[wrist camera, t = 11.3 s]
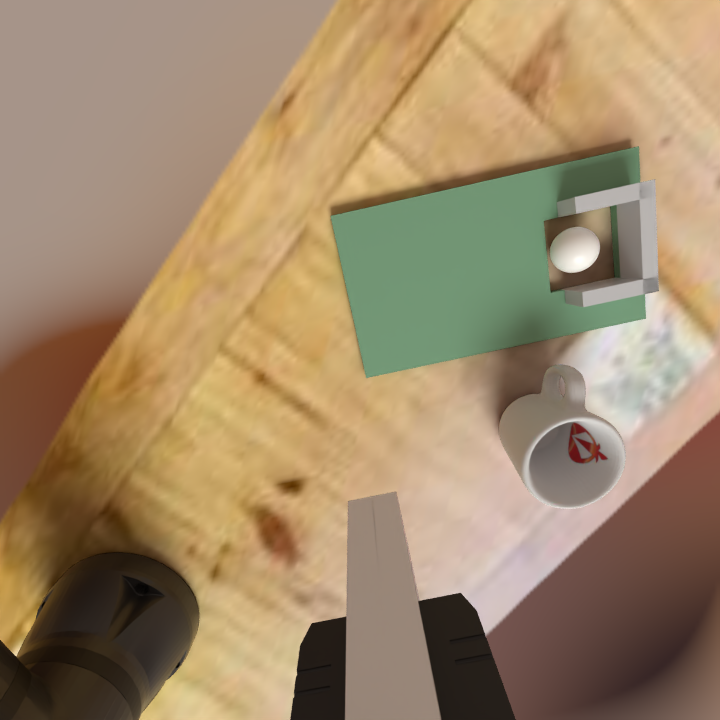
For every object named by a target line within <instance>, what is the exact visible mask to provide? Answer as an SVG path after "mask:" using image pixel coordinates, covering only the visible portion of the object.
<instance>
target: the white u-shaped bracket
mask: <svg viewBox="0 0 720 720" xmlns="http://www.w3.org/2000/svg"><path fill="white" fill-rule="evenodd" d="M613 205H617V217H616V218H617V222H616V223H618V241H619V260H620V263H619V262H618V263H619V264H620V274H619V273H618V274H619V275H620V278H619V277H618V278H615V277H614V278H610V279H605V280H601V281H596V282H591V283H587V284H582V285H577V286H573V287H568V288H564V289H561V290H565V300H566V304H570V305H575V306H580V307H587V306H591V305H596V304H601V303H605V302H610V301H615V300H619V299H624V298H629V297H633V296H638V295H643V294H647V293H652V292H657V291H659V285H658V254H657V223H656V191H655V179H654V180H649V181H645V182H640V183H636V184H631V185H627V186H622V187H618V188H613V189H609V190H604V191H600V192H595V193H591V194H587V195H582V196H578V197H573V198H570V199H566V200H563V201H559V202H557V210H558V217H563V216H568V215H573V214H577V213H582V212H586V211H591V210H595V209H600V208H604V207H609V206H613ZM613 212H614V211H613ZM614 213H615V212H614ZM611 215H612V214H611ZM611 220H612V216H611ZM614 249H615V248H614ZM616 262H617V261H616ZM615 264H616V263H615ZM618 266H619V265H618ZM616 268H617V267H616ZM614 271H615V270H614ZM615 275H616V274H615Z"/></svg>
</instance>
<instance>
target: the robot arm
mask: <svg viewBox="0 0 720 720" xmlns="http://www.w3.org/2000/svg"><path fill="white" fill-rule="evenodd" d="M198 626H199V611H198V606H197V603H196V600H195V598H194V595H193V594H192V592H191V590H190V589H189V587H188V586H187V584H186V583H185V582H184V581H183V580H182V579H181V578H180V577H179V576H178V575H177V574H176V573H175V572H173V571H172V570H171V569H169V568H168V567H166V566H164V565H163V564H161V563H159V562H157V561H155V560H152V559H150V558H147V557H143V556H140V555H135V554H129V553H105V554H100V555H95V556H92V557H89V558H86V559H84V560H82V561H80V562H78V563H77V564H75V565H74V566H72V567H71V568H70V569H69V570H67V571H66V572H65V573H64V575H63V576H62V577H61V578H60V579H59V580H58V581H57V582H56V583H55V584H54V586H53V587H52V588H51V589H50V590H49V591H48V593H47V594H46V596H45V597H44V599H43V601H42V603H41V605H40V607H39V609H38V612H37V616H36V620H35V622H34V624H33V626H32V628H31V630H30V631H29V633H28V635H27V636H26V638H25V640H24V642H23V644H22V646H21V648H20V650H19V652H18V655H17V657H16V656H15V655H14V654H13V653H12V652H11V651H10V650H9V649H8V648H7V647H6V646H5V645H4V643H3V642H2V641H1V640H0V720H139V718H140V716H141V714H142V712H143V711H144V710H145V709H146V707H147V706H148V705H149V704H150V703H151V701H152V700H153V699H154V697H155V696H156V695H157V693H158V692H159V691H160V689H161V688H162V686H163V685H164V683H165V681H166V680H167V679H169V678H170V677H171V676H172V675H173V674H174V673H175V672H176V671H177V670H178V668H179V667H180V666H181V665H182V663H183V662H184V660H185V658H186V657H187V655H188V653H189V650H190V648H191V646H192V643H193V641H194V638H195V636H196V633H197V630H198ZM290 720H516V719H515V717H514V714H513V711H512V708H511V705H510V703H509V700H508V697H507V694H506V692H505V689H504V686H503V683H502V680H501V677H500V675H499V672H498V669H497V666H496V664H495V661H494V658H493V656H492V652H491V650H490V647H489V644H488V641H487V638H486V637H485V633H484V630H483V627H482V624H481V622H480V619H479V616H478V613H477V611H476V609H475V608H474V607H473V606H472V605H471V604H470V603H469V602H468V600H467V599H466V598H465V597H464V596H463V595H462V594H461V593H458V594H452V595H447V596H442V597H437V598H432V599H427V600H422V601H419V596H418V591H417V586H416V581H415V576H414V571H413V566H412V562H411V557H410V553H409V548H408V543H407V539H406V534H405V530H404V525H403V520H402V516H401V511H400V507H399V502H398V497H397V493H396V492H391V493H386V494H381V495H376V496H371V497H366V498H362V499H357V500H352V501H348V539H347V613H346V617H342V618H337V619H332V620H327V621H321V622H316V623H312V624H311V626H310V628H309V630H308V632H307V634H306V636H305V637H304V639H303V641H302V643H301V645H300V651H299V659H298V666H297V676H296V681H295V689H294V698H293V704H292V712H291V719H290Z"/></svg>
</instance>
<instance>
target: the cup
mask: <svg viewBox="0 0 720 720" xmlns="http://www.w3.org/2000/svg"><path fill="white" fill-rule="evenodd" d="M561 376H562V377H563V379H564V382H565V394H564V397H563V396H562V394H561V392H560V389H559V380H560V377H561ZM585 395H586V387H585V382H584V379H583V376H582V375H581V373H580V372H579V371H578V370H576V369H575V368H573V367H570V366H567V365H554V366H551V367H550V368H548V369H547V371H546V372H545V375H544V378H543V383H542V390H541V393H540V394H530V395H526V396H523V397H520V398H518V399H517V400H515V401H514V402H512V403H511V404H510V405H509V406H508V407H507V408H506V410H505V411H504V413H503V415H502V417H501V420H500V424H499V435H500V440H501V443H502V445H503V447H504V449H505V451H506V453H507V454H508V456H509V458H510V460H511V462H512V463H513V465H514V467H515V469H516V470H517V472H518V474H519V476H520V478H521V479H522V481H523V483H524V485H525V486H526V488H527V489H528V491H529V492H530V493H531V494H532V495H533V496H534V497H535V498H536V499H537V500H539V501H540V502H542V503H544V504H546V505H548V506H551V507H555V508H561V509H574V508H580V507H584V506H587V505H589V504H592V503H594V502H596V501H597V500H599V499H601V498H602V497H604V496H605V495H606V494H607V493H608V492H610V491H611V489H612V488H613V487H614V486H615V485H616V483H617V482H618V480H619V479H620V477H621V474H622V472H623V469H624V466H625V459H626V452H625V446H624V442H623V440H622V438H621V436H620V434H619V432H618V431H617V430H616V429H615V428H614V426H612V425H611V424H610V423H609V422H608V421H606V420H604V419H603V418H601V417H599V416H597V415H594V414H592V413H590V412H588V411H587V410H586V409H585Z"/></svg>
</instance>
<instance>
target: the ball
mask: <svg viewBox="0 0 720 720" xmlns="http://www.w3.org/2000/svg"><path fill="white" fill-rule="evenodd" d="M599 252H600V242H599V239H598V237H597V236H596V235H595V233H594V232H592V231H591V230H589V229H587V228H584V227H572V228H569V229H566V230H564V231H562V232H561V233H560V234H558V235H557V236H556V238H555V239H554V240H553V242H552V244H551V247H550V258H551V261H552V263H553V264H554V266H555V267H556V268H558V269H559V270H561V271H563V272H567V273H576V272H580V271H583V270H585V269H587V268H588V267H590V266H591V265H592V264H593V263H594V262H595V260H596V259H597V257H598V255H599Z"/></svg>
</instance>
